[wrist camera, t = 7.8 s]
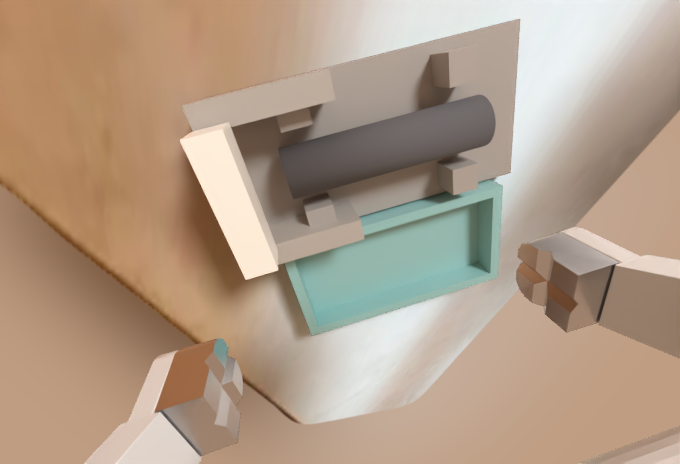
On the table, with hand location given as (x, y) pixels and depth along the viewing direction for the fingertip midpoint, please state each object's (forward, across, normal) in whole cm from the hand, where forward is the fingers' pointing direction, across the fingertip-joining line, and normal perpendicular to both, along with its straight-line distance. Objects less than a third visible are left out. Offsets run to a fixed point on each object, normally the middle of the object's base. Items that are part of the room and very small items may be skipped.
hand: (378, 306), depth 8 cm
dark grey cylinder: (+16, -5, 0) cm, 17 cm away
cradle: (+17, -5, 0) cm, 18 cm away
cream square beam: (+12, +5, 0) cm, 13 cm away
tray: (+17, -5, +10) cm, 21 cm away
